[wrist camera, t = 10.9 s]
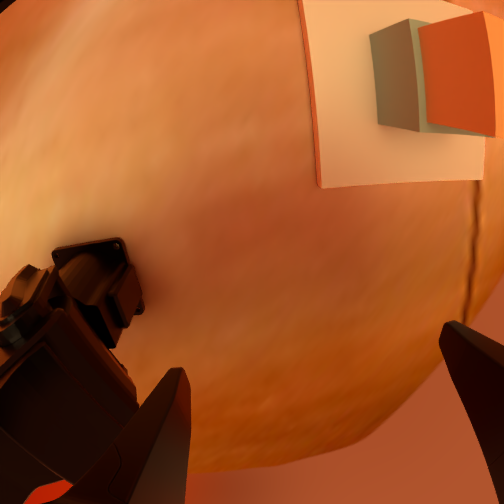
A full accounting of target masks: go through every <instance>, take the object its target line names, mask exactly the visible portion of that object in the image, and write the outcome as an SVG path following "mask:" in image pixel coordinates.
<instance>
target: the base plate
mask: <svg viewBox="0 0 504 504" xmlns="http://www.w3.org/2000/svg"><path fill="white" fill-rule="evenodd" d="M298 6H299V13H300V19H301V26H302V33H303V40H304V47H305V55H306V62H307V71H308V79H309V88H310V98H311V108H312V119H313V131H314V143H315V157H316V173H317V185H318V186H319V187H320V188H321V189H326V188H337V187H349V186H361V185H375V184H389V183H406V182H425V181H449V180H483V172H484V155H485V137H482V136H471V135H459V134H443V133H421V132H415V131H411V130H406V129H401V128H396V127H391V126H386V125H380V124H378V118H377V103H376V90H375V79H374V70H373V61H372V53H371V45H370V38H369V35H370V34H372V33H374V32H377V31H379V30H381V29H383V28H386V27H388V26H391V25H393V24H395V23H398V22H400V21H403V20H405V19H408V18H410V19H415V20H419V21H424V22H428V23H436V22H439V21H443V20H447V19H451V18H455V17H459V16H463V15H467V14H472V13H473V11H471V10H469V9H466V8H463V7H460V6H458V5H455V4H452V3H448V2H445V1H442V0H298Z"/></svg>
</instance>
